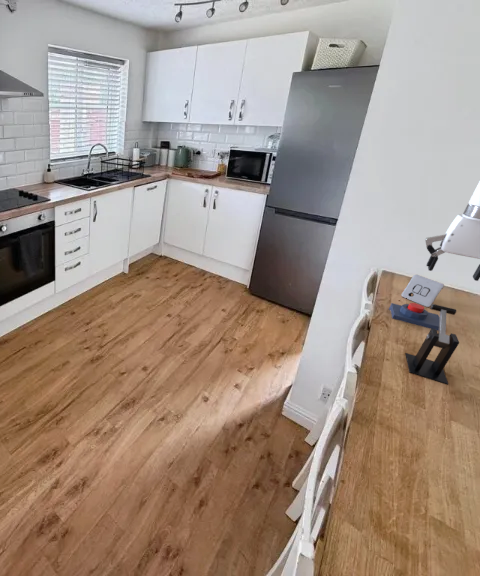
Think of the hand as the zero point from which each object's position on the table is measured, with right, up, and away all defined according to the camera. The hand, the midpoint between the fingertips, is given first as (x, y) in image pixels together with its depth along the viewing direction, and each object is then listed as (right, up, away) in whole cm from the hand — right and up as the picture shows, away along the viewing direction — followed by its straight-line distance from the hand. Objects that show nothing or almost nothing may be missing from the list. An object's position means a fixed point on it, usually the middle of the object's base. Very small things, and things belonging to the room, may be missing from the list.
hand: (451, 274), depth 102 cm
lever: (-7, -15, -3) cm, 16 cm away
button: (+7, -11, +20) cm, 24 cm away
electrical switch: (+21, -9, +35) cm, 41 cm away
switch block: (+8, -15, +22) cm, 27 cm away
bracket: (-10, -26, -2) cm, 28 cm away
